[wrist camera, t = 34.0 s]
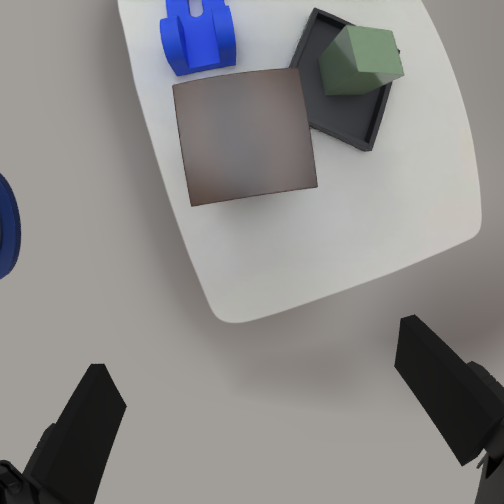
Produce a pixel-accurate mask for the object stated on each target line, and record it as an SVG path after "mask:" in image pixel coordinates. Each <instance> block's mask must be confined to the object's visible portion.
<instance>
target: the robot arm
mask: <svg viewBox="0 0 504 504" xmlns="http://www.w3.org/2000/svg"><path fill="white" fill-rule="evenodd" d="M2 240H3V229H2V220H1V216H0V251H1V247H2ZM394 367H395V368H396V369H397V371H398V372H399V373H400V375H401V376H402V378H403V379H404V380H405V382H406V383H407V385H408V386H409V387H410V389H411V390H412V392H413V393H414V395H415V396H416V398H417V399H418V400H419V402H420V403H421V405H422V406H423V408H424V409H425V411H426V412H427V414H428V415H429V417H430V418H431V420H432V421H433V423H434V424H435V425H436V427H437V428H438V430H439V432H440V433H441V435H442V436H443V438H444V439H445V441H446V442H447V444H448V445H449V447H450V448H451V450H452V452H453V453H454V455H455V456H456V458H457V459H458V461H459V462H460V464H461V466H464V465H465V464H467V463H469V462H470V461H472V460H473V459H475V458H476V457H478V455H479V454H480V453H481V451H482V450H483V448H484V449H485V450H486V451H487V453H486V454H485V456H484V457H483V458H482V460H481V461H480V462H479V463H478V465H477V468H478V469H479V468H480V466H481V465H482V464H483V468H482V475H481V479H480V483H479V488H478V492H477V496H476V500H475V504H504V387H503V386H502V385H501V384H500V383H499V382H498V381H497V382H496V379H495V378H494V377H493V376H492V375H490V373H489V372H488V371H487V370H486V369H485V368H484V367H483V366H481V365H479V364H477V363H475V362H473V361H471V362H469V363H467V364H466V363H465V362H464V361H463V360H462V359H460V357H459V356H458V355H457V354H456V353H455V352H454V351H453V350H452V349H451V348H450V347H449V346H448V345H446V343H445V342H443V341H442V340H441V339H440V338H439V337H438V336H437V335H436V334H435V333H434V332H433V331H432V330H431V329H430V328H429V327H428V326H427V325H426V324H425V323H424V322H422V321H421V320H420V319H419V318H418V317H417V316H416V315H415V314H414V315H411V316H408V317H404V318H401V321H400V331H399V339H398V345H397V352H396V359H395V365H394ZM126 407H127V406H126V404H125V402H124V401H123V399H122V397H121V395H120V393H119V391H118V390H117V388H116V386H115V384H114V382H113V380H112V378H111V376H110V374H109V372H108V370H107V368H106V366H105V364H91V365H90V366H89V368H88V369H87V371H86V373H85V375H84V376H83V378H82V379H81V381H80V383H79V384H78V386H77V388H76V389H75V391H74V393H73V394H72V396H71V398H70V400H69V401H68V403H67V405H66V406H65V408H64V410H63V412H62V414H61V415H60V417H59V419H58V421H57V422H56V424H54V423H52V424H51V425H50V426H49V427H48V428H47V429H46V430H45V431H44V433H43V435H42V437H41V439H40V441H39V442H38V444H37V446H36V447H37V448H35V450H34V452H33V454H32V456H31V457H30V459H29V461H28V463H27V465H26V467H25V470H24V471H23V473H22V474H21V473H20V472H19V471H18V470H17V469H16V468H15V467H14V466H13V465H12V464H11V463H10V462H9V461H6V460H0V504H94V501H95V498H96V495H97V491H98V488H99V485H100V482H101V478H102V475H103V472H104V469H105V466H106V463H107V460H108V457H109V454H110V451H111V448H112V446H113V442H114V440H115V437H116V434H117V431H118V428H119V426H120V423H121V420H122V417H123V415H124V412H125V410H126Z"/></svg>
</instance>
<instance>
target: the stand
mask: <svg viewBox="0 0 504 504" xmlns="http://www.w3.org/2000/svg"><path fill="white" fill-rule="evenodd" d="M172 88H173V95H174V103H175V110H176V118H177V125H178V131H179V138H180V145H181V151H182V157H183V163H184V169H185V175H186V181H187V187H188V192H189V198H190V203H191V207H193V206H199V205H204V204H210V203H215V202H221V201H227V200H233V199H239V198H246V197H252V196H259V195H265V194H272V193H279V192H286V191H293V190H301V189H309V188H317V187H318V185H317V177H316V169H315V161H314V154H313V147H312V140H311V134H310V128H309V121H308V115H307V110H306V104H305V98H304V93H303V88H302V82H301V77H300V72H299V68H285V69H271V70H260V71H251V72H243V73H235V74H228V75H222V76H216V77H210V78H204V79H199V80H194V81H189V82H184V83H180V84H175V85H173V86H172Z"/></svg>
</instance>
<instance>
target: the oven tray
mask: <svg viewBox="0 0 504 504" xmlns="http://www.w3.org/2000/svg"><path fill="white" fill-rule="evenodd" d="M346 25H351V26H356V25H353V24H351V23H349V22H347V21H345V20H343V19H341V18H339V17H336V16H334V15H332V14H330V13H327V12H325V11H322V10H319V9H317V8H314V9H313V11H312V13H311V14H310V17H309V19H308V22H307V24H306V26H305V29H304V31H303V34H302V36H301V39H300V41H299V44H298V46H297V49H296V51H295V54H294V56H293V59H292V61H291V64H290V66H289V68H299V72H300V77H301V82H302V88H303V93H304V98H305V104H306V110H307V115H308V121H309V126H310V127H312V128H314V129H317V130H319V131H321V132H324V133H326V134H328V135H331V136H333V137H335V138H337V139H339V140H341V141H344V142H346V143H348V144H350V145H352V146H354V147H356V148H358V149H360V150H362V151H372V148H373V145H374V142H375V139H376V136H377V133H378V130H379V126H380V123H381V120H382V117H383V113H384V110H385V106H386V103H387V100H388V96H389V92H390V89H391V85H392V81H391V82H389V83H387V84H385V85H383V86H380V87H378V88H376V89H374V90H372V91H370V92H368V93H366V94H364V95H329V96H325V92H324V87H323V82H322V77H321V72H320V67H319V63H318V58H319V57H320V55H321V54H322V53H323V52H324V51H325V49H326V48H327V47H328V46H329V45H330V43H331V42H332V41H333V40H334V39H335V37H336V36H337V35H338V34H339V33H340V32H341V30H342V29H343V28H344V27H345V26H346ZM398 53H399V54H400V50H399V49H398Z"/></svg>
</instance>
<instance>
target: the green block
mask: <svg viewBox="0 0 504 504" xmlns="http://www.w3.org/2000/svg"><path fill="white" fill-rule="evenodd" d="M318 63H319V67H320V72H321V77H322V82H323V87H324V92H325V96H329V95H364V94H366V93H368V92H370V91H372V90H374V89H376V88H378V87H380V86H383V85H385V84H387V83H389V82H391V81H393V80H395V79H397V78H400V77H402V76H404V72H403V68H402V64H401V60H400V56H399V53H398V49H397V46H396V42H395V39H394V36H393V33H392V31H389V30H383V29H377V28H369V27H361V26H351V25H346V26H345V27H344V28H343V29H342V30H341V32H340V33H339V34H338V35H337V36H336V37H335V39H334V40H333V41H332V42H331V43H330V45H329V46H328V47H327V48H326V49H325V51H324V52H323V53H322V54H321V55H320V57H319V58H318Z"/></svg>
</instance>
